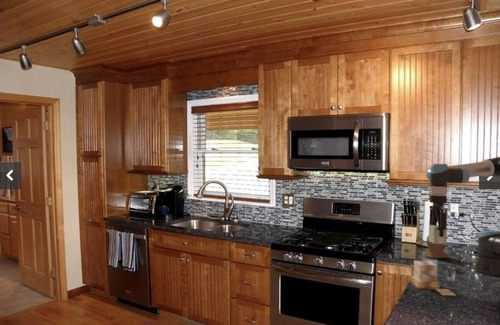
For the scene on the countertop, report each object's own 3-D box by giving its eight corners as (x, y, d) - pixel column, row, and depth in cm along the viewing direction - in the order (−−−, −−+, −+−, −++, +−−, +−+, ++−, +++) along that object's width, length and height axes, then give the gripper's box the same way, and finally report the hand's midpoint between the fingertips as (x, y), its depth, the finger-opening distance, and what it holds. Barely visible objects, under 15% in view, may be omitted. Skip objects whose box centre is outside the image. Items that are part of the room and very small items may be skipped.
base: (430, 281, 195) (430, 276, 195) (440, 288, 184) (440, 282, 184) (409, 281, 196) (409, 275, 196) (417, 288, 185) (417, 282, 185)
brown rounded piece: (429, 260, 238) (429, 236, 238) (421, 255, 250) (421, 232, 250) (453, 260, 237) (454, 236, 237) (444, 255, 249) (444, 232, 249)
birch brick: (429, 276, 194) (430, 260, 194) (436, 281, 186) (437, 265, 186) (413, 276, 194) (413, 260, 194) (420, 281, 186) (420, 264, 186)
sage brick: (440, 241, 192) (441, 225, 192) (446, 243, 186) (446, 227, 186) (428, 240, 192) (428, 225, 192) (433, 243, 186) (434, 227, 186)
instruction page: (447, 289, 184) (447, 288, 184) (456, 295, 176) (456, 294, 176) (435, 289, 184) (435, 288, 184) (442, 295, 176) (442, 294, 176)
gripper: (422, 193, 199) (421, 237, 199) (439, 196, 180) (438, 245, 180) (437, 193, 199) (436, 238, 199) (455, 196, 180) (454, 246, 180)
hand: (437, 241), depth 189 cm, fingers closed on sage brick, 6 cm apart
